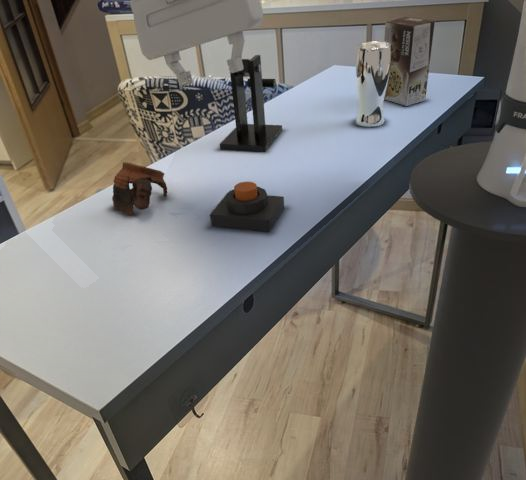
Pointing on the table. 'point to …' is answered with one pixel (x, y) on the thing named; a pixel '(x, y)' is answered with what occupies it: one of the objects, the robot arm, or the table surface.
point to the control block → (248, 212)
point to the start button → (245, 191)
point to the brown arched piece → (135, 187)
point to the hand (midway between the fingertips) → (211, 78)
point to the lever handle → (245, 73)
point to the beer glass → (372, 81)
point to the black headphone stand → (257, 133)
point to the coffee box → (409, 59)
